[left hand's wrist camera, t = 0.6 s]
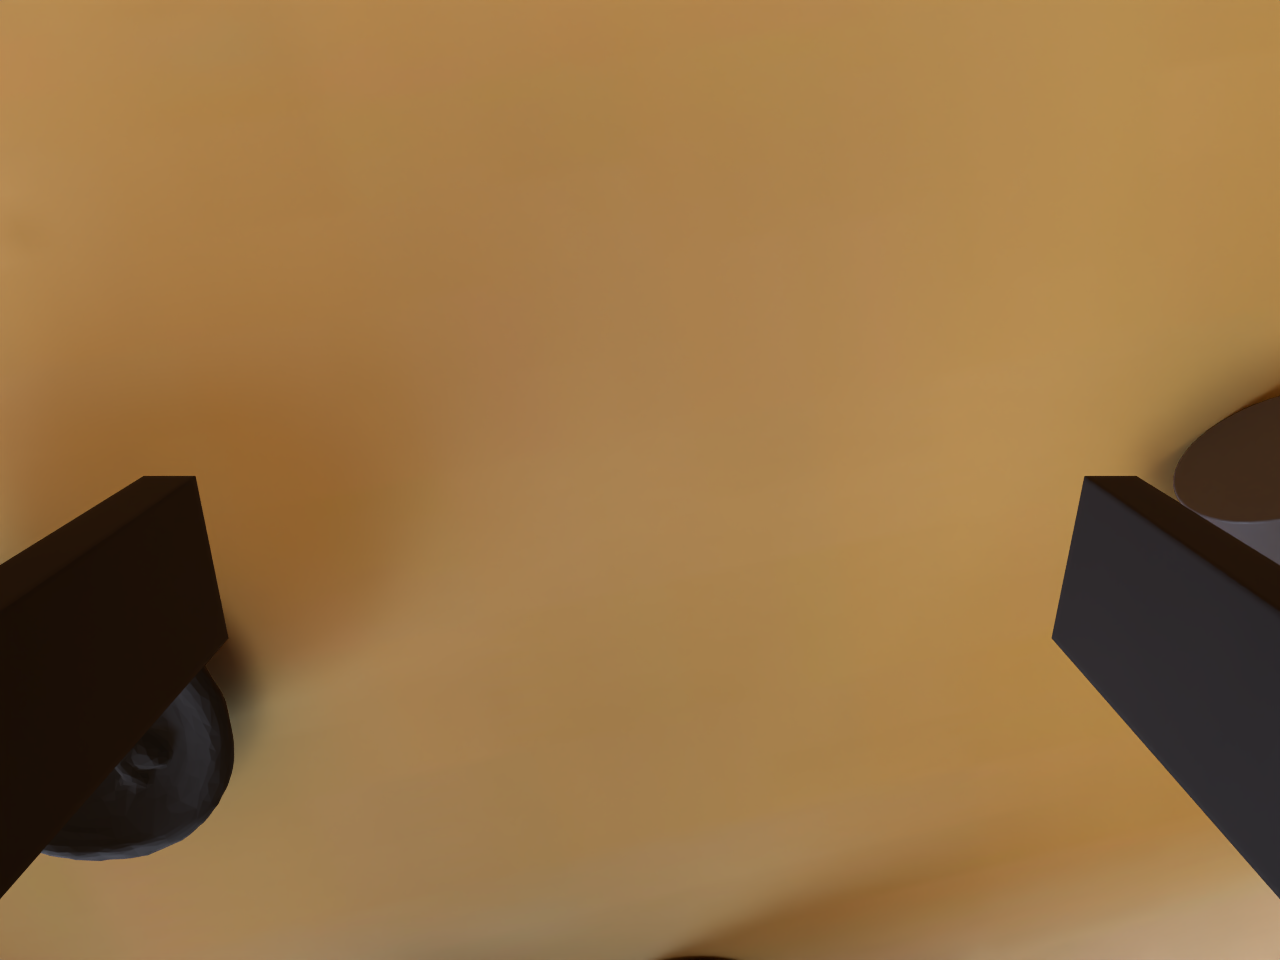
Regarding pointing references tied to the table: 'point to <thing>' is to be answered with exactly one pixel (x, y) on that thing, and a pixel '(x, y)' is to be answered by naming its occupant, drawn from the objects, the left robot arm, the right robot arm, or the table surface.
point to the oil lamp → (157, 782)
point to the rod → (1237, 477)
